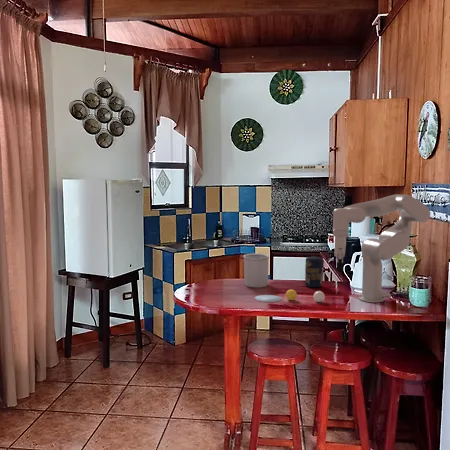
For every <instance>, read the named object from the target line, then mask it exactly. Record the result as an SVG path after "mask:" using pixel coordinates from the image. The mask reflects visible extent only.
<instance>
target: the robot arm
mask: <svg viewBox="0 0 450 450" xmlns="http://www.w3.org/2000/svg"><path fill="white" fill-rule="evenodd" d="M430 210H431V209H429V207H428V206H427V205H425V204H424V203H422V202H421V201H420V200H417V199H416V198H415V197H414V196H412V195H409V194H402V193H401V194H398V193H397V194H392V195H388V196H384V197H382V198H377V199H373V200H369V201H365V202H358V203H353V204H350V205H346V206H344V207H337V208H334V210H333V211H332V212H333V214H332V215H333V216H332V220H333V221H332V222H333V223H332V237H334V257H337V260H336V271H337V272H342V271H343V272H344V257H346V256H345V255H346V247H347V237H349V234H350V233H349V231H350V230H349V229H350V223H354V224H360V223H362V222H364V221H365V220H366V218H367V217H369V218H370V217H373V218H374V217H382V216H385V215H388V214H392V213H394V212H399V214H398V215H399V217H398V220H397V222H396V223H395V224H394V225H392V226H390V227H389V228H387V229H385V230H383V231H382V232H381V233H380V234H379V236H378V239H377V238H373V237H372V238H371V237H370V238H367V239H365V240H363V242H362V244H361V250H360V251H361V256H362V281H361V283H362V284H361V294H360V295H359V296H358V299H359V300H360V301H362V302H366V303H375V304H377V303H383V302H385V298H389V299H391V298H392V294H391V293H388V292H383V290H382V286H383V285H382V284H383V283H382V282H383V262H382V261H387V260H390V259H392V258H394V257H395V256H397V255H399V254H400V253H401V252H404V251H405V249H407V248H408V246H409V245H410V242H411V237H410V234H411V232H412V227H413V226H412V225H413V223H414V222H416V223H426V222H427V221H428V220H429V219H430V218H431V211H430Z"/></svg>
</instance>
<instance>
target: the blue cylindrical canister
mask: <svg viewBox="0 0 450 450" xmlns="http://www.w3.org/2000/svg"><path fill="white" fill-rule="evenodd" d="M304 265H305V267H304V270H305V271H304V273H305V274H304V277H305V278H304V279H305V280H304V285H305V286H306V287H309V288H320V287H321V286H322V283H323V258H322V257H320V256H318V255H317V256H316V255H313V256H307V257H305V264H304Z"/></svg>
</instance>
